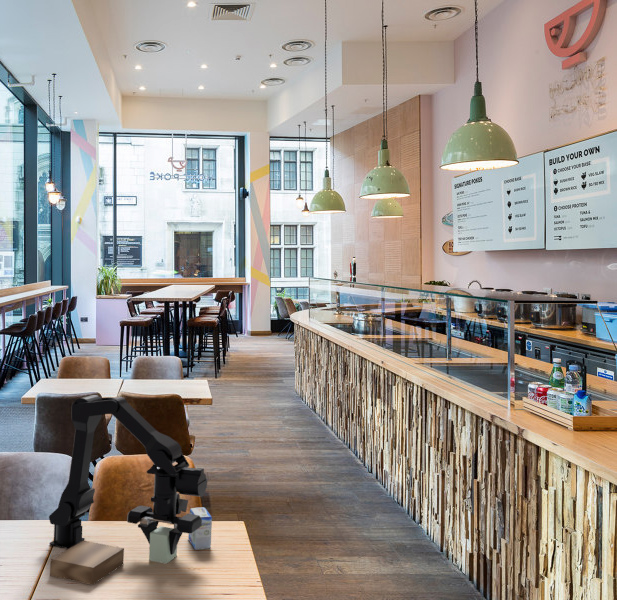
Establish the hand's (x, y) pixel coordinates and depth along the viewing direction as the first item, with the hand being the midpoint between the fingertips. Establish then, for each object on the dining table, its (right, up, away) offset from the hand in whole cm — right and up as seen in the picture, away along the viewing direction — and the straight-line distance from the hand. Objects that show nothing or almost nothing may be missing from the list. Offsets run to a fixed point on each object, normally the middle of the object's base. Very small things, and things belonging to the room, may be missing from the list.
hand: (163, 552), depth 162 cm
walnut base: (-17, -1, -8) cm, 18 cm away
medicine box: (+7, -2, +10) cm, 13 cm away
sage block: (0, -2, 0) cm, 2 cm away
